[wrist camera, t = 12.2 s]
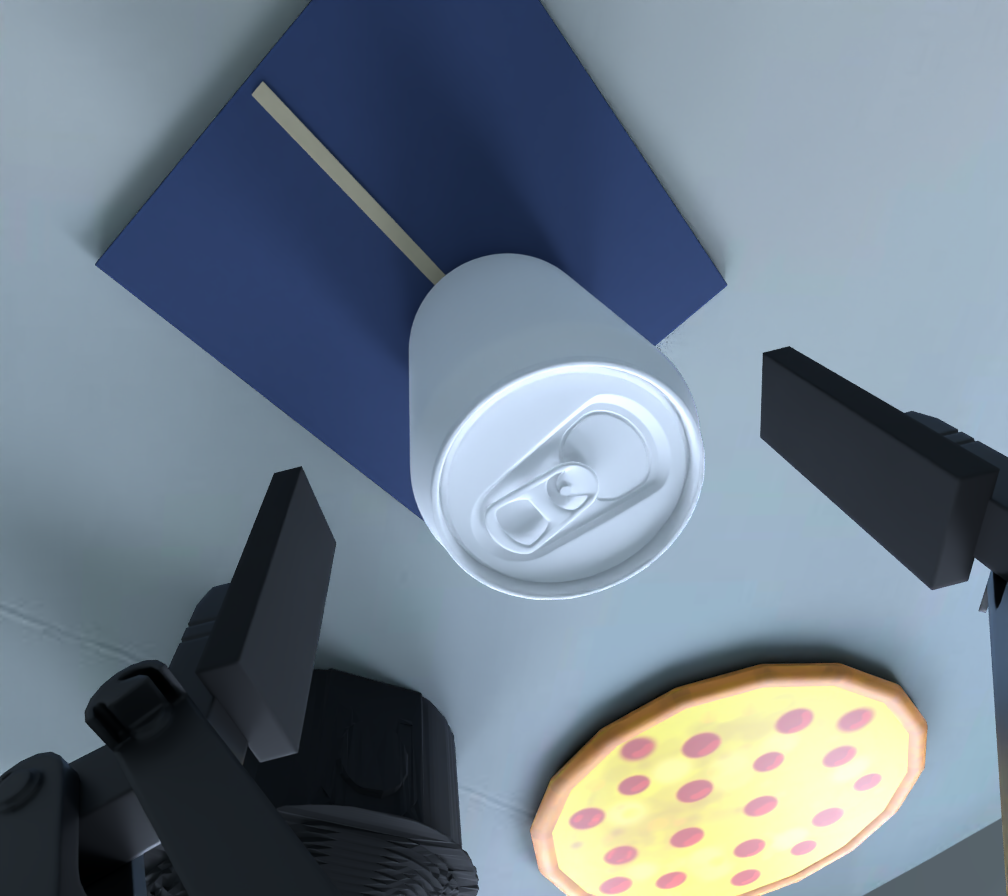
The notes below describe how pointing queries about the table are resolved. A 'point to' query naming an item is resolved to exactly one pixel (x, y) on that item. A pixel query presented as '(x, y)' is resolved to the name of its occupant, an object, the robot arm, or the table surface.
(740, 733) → the pizza
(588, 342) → the beverage can
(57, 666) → the table surface
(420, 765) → the black round tub
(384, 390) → the napkin
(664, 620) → the table surface
